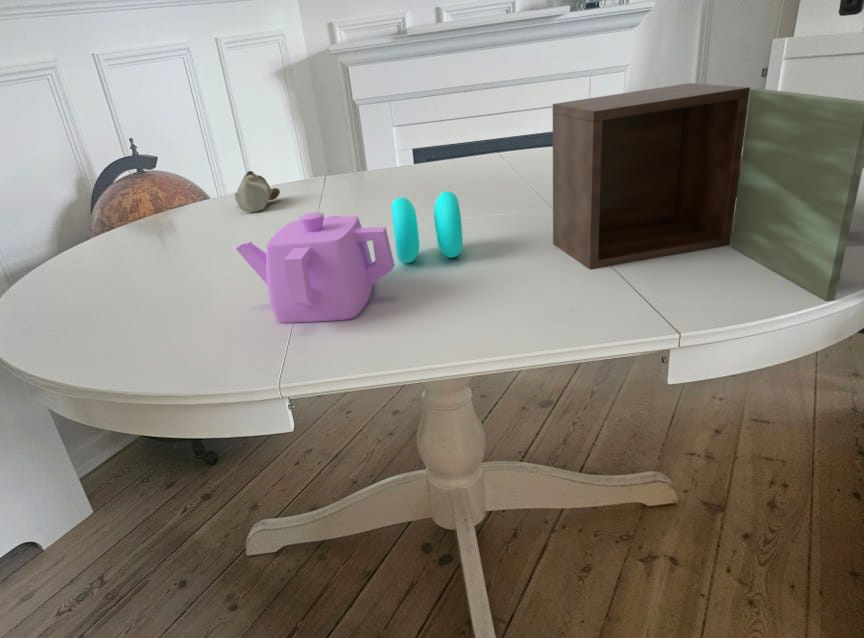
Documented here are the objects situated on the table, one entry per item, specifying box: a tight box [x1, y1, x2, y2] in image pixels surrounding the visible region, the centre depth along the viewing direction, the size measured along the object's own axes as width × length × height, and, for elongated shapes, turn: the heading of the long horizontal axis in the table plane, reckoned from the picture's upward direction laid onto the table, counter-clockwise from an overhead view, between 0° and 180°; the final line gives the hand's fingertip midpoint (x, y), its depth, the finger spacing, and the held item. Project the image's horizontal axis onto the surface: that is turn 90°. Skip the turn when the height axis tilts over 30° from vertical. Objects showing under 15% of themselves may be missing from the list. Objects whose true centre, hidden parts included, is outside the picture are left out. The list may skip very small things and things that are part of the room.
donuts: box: [391, 190, 464, 264], centre depth 96 cm, size 10×10×10 cm
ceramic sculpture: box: [234, 170, 281, 213], centre depth 147 cm, size 11×9×15 cm
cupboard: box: [552, 82, 751, 271], centre depth 88 cm, size 13×20×20 cm, turn 99°
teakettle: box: [236, 211, 395, 324], centre depth 85 cm, size 17×17×12 cm
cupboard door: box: [730, 88, 864, 302], centre depth 73 cm, size 7×20×20 cm, turn 1°
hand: (850, 14), depth 76 cm, fingers closed
